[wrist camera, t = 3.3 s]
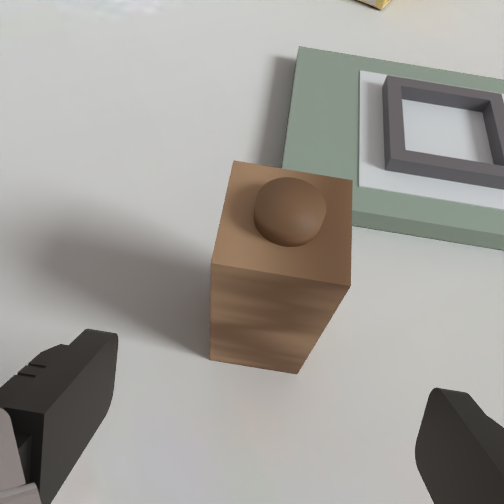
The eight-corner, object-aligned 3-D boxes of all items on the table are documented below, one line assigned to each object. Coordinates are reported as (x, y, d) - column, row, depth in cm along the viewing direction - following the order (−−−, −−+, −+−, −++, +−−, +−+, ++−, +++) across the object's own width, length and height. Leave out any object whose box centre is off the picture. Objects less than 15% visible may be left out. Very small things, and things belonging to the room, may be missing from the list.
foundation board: (274, 212, 28) (280, 185, 26) (295, 62, 36) (301, 32, 34) (612, 268, 28) (648, 245, 26) (554, 105, 36) (577, 77, 34)
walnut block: (209, 359, 23) (210, 250, 13) (224, 282, 25) (234, 145, 16) (297, 374, 23) (357, 274, 13) (303, 295, 25) (358, 165, 16)
